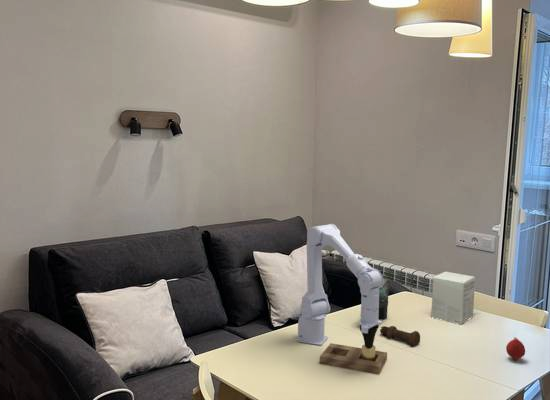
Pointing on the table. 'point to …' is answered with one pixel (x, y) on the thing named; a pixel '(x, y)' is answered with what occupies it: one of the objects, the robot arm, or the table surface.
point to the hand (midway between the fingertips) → (368, 346)
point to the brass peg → (368, 353)
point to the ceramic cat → (383, 299)
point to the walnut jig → (352, 358)
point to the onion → (515, 349)
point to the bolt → (401, 335)
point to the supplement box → (453, 297)
